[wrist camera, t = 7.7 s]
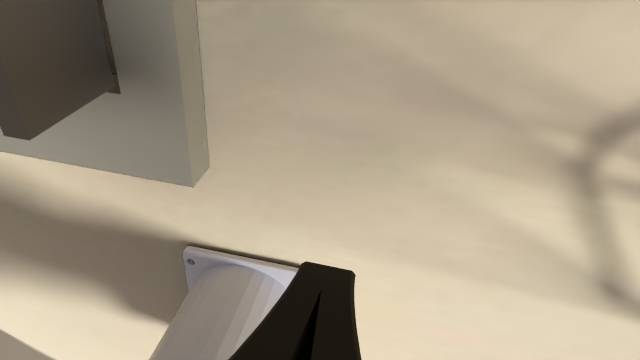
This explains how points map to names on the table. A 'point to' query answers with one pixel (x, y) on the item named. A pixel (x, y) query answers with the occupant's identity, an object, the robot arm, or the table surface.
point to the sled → (49, 62)
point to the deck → (138, 101)
